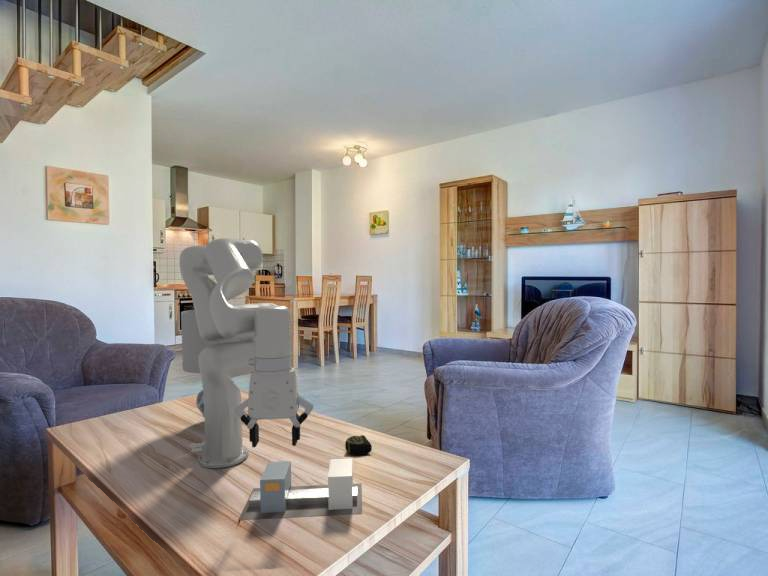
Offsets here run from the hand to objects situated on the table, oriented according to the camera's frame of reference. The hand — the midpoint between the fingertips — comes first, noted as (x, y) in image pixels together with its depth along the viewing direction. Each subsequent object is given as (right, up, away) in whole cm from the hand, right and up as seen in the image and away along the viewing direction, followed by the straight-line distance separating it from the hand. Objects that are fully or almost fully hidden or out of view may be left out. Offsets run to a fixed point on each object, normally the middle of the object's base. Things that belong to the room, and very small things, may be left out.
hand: (275, 443), depth 88 cm
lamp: (-33, -12, +52) cm, 63 cm away
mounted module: (+14, -13, +1) cm, 19 cm away
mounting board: (+6, -14, +1) cm, 15 cm away
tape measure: (+17, -13, +27) cm, 34 cm away
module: (0, -13, +1) cm, 13 cm away
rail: (+6, -14, +1) cm, 15 cm away
